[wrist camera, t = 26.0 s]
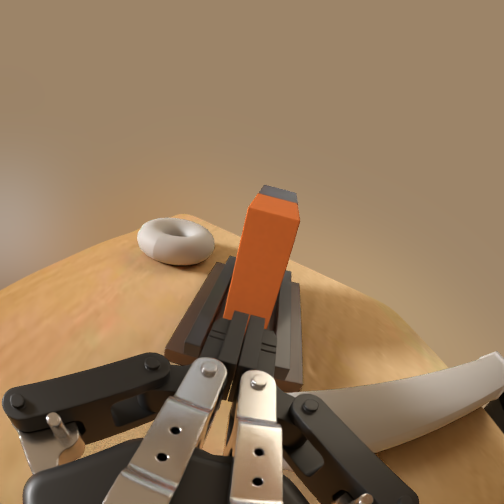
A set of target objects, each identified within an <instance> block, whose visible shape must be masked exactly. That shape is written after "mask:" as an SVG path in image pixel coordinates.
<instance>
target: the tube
mask: <svg viewBox="0 0 504 504" xmlns="http://www.w3.org/2000/svg"><path fill="white" fill-rule="evenodd" d="M503 392H504V358H503V357H502V356H501V355H500V354H499V353H498V352H497V351H496V352H493V353H490V354H488V355H485V356H482V357H480V358H479V360H475V361H472V362H469V363H466V364H462V365H459V366H455V367H452V368H448V369H444V370H441V371H437V372H432V373H428V374H424V375H420V376H415V377H410V378H405V379H400V380H395V381H390V382H384V383H378V384H371V385H364V386H357V387H349V388H341V389H331V390H320V391H307V392H293V393H287V394H289V395H291V396H294V397H297V396H298V395H300V394H313V395H316V396H318V397H319V398H321V399H322V400H323V401H324V402H325V403H326V404H327V405H328V407H329V408H330V409H331V410H332V411H333V412H334V413H335V414H336V415H337V416H338V417H339V418H340V419H341V420H342V421H343V422H344V423H345V424H346V425H347V426H348V428H349V429H350V430H351V431H352V432H353V433H354V434H355V435H356V436H357V437H358V438H359V439H360V440H361V441H362V442H363V443H364V444H365V445H366V446H367V447H368V448H369V449H370V450H371V451H372V452H373V453H377V452H380V451H383V450H386V449H389V448H392V447H395V446H398V445H400V444H403V443H406V442H408V441H411V440H413V439H416V438H418V437H421V436H423V435H425V434H428V433H430V432H432V431H435V430H437V429H439V428H441V427H443V426H445V425H447V424H449V423H451V422H453V421H455V420H457V419H459V418H461V417H463V416H465V415H467V414H469V413H470V412H472V411H474V410H476V409H478V408H479V407H481V406H483V405H484V404H486V403H488V402H489V401H491V400H495V399H498V398H499V397H500V395H501V394H502V393H503ZM283 469H286V470H289V471H293V470H292V469H291V467H290V466H289V465H288V464H287V462H286V461H285V460H284V459H283ZM293 472H294V471H293Z"/></svg>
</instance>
